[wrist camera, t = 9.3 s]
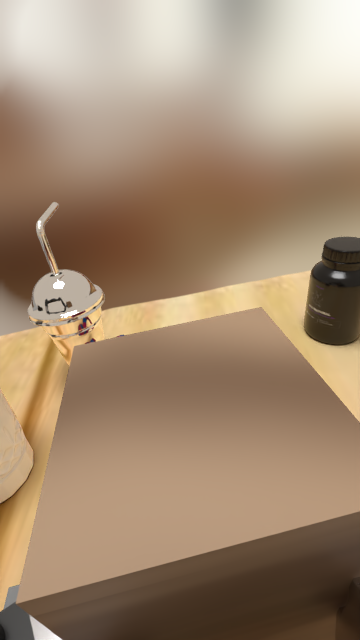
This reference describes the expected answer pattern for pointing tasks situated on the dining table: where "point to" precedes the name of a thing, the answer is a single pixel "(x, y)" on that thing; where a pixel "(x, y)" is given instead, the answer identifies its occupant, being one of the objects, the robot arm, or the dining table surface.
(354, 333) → the supplement bottle
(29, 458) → the white cup
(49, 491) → the tall wooden block
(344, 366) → the dining table surface
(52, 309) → the cup with straw
